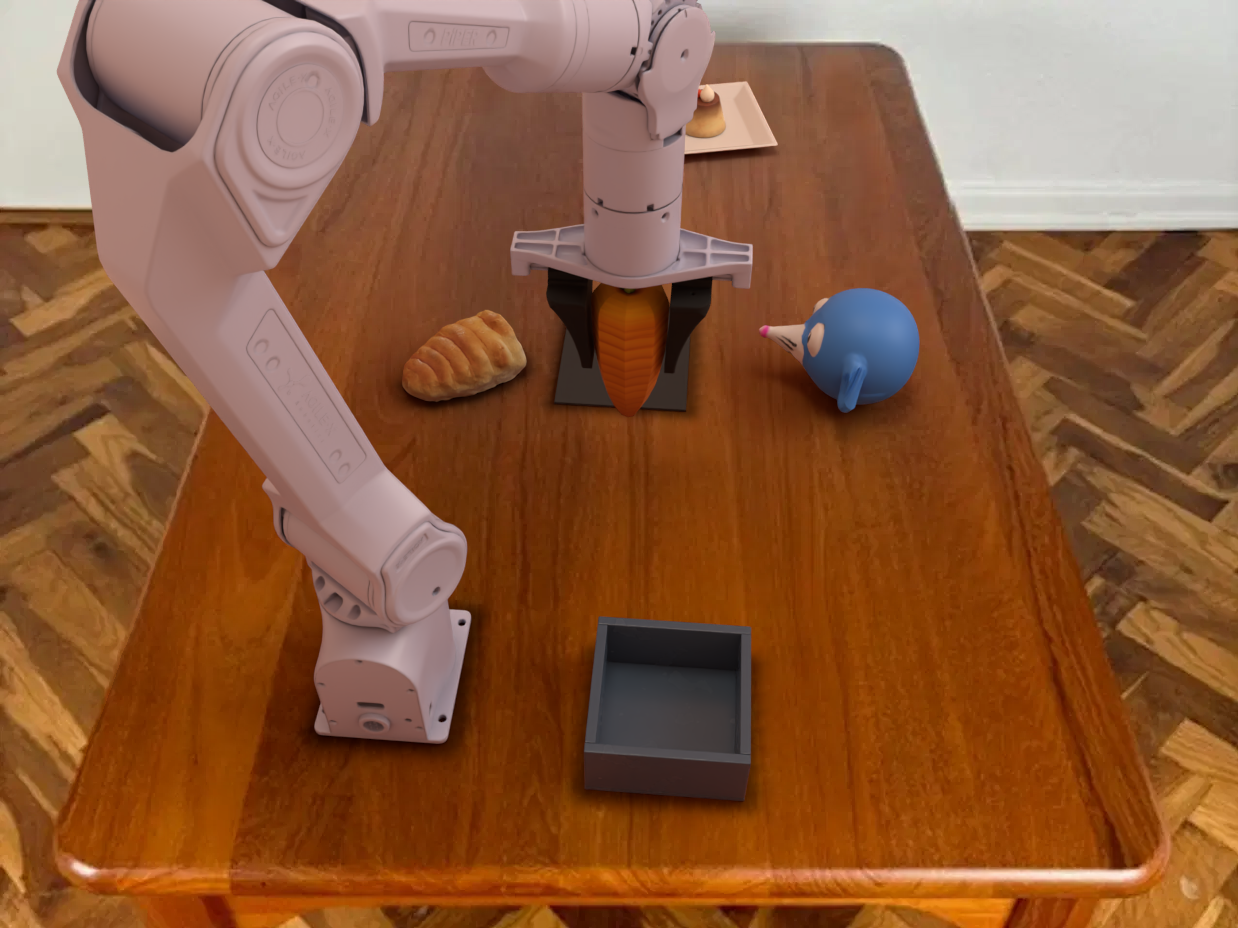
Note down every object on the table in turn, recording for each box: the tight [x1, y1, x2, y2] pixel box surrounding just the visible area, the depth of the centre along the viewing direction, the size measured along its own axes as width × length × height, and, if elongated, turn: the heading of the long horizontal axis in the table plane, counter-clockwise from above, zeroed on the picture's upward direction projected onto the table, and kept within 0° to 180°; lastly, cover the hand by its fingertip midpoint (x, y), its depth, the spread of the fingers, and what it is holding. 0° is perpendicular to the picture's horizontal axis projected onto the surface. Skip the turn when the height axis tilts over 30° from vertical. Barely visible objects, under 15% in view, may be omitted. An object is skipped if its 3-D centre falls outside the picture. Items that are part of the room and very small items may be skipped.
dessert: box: [684, 80, 779, 156], centre depth 116 cm, size 12×12×5 cm
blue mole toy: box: [758, 287, 920, 414], centre depth 89 cm, size 12×12×8 cm
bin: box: [583, 615, 752, 802], centre depth 70 cm, size 9×9×4 cm
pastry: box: [401, 309, 527, 403], centre depth 92 cm, size 9×7×4 cm
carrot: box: [591, 282, 670, 418], centre depth 77 cm, size 5×5×15 cm
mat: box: [553, 306, 691, 412], centre depth 94 cm, size 12×10×1 cm
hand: (629, 360), depth 79 cm, fingers closed on carrot, 5 cm apart
